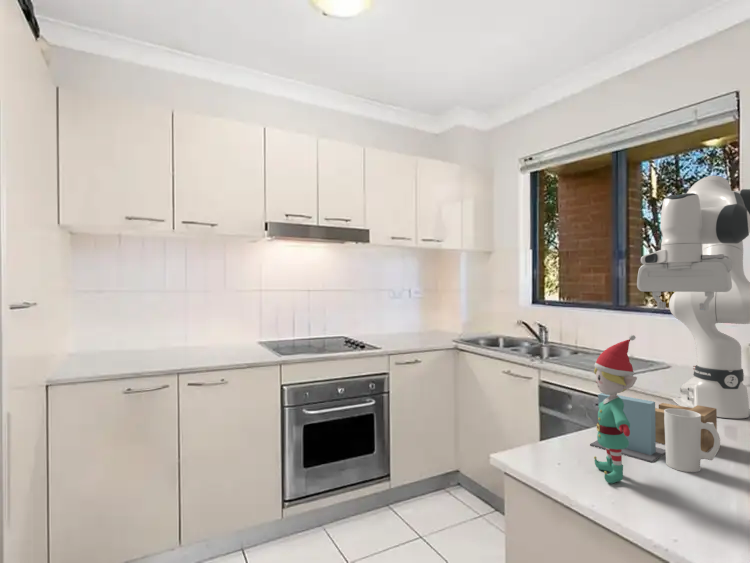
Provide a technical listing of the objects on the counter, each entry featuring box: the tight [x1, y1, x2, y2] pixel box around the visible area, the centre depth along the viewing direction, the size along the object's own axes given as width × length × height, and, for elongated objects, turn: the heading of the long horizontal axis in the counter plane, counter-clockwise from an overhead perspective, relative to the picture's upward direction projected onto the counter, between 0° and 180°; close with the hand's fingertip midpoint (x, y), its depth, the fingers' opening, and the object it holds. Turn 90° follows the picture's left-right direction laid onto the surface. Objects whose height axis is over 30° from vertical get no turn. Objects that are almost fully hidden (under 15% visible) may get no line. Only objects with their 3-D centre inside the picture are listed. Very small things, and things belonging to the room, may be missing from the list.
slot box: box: [655, 402, 718, 452], centre depth 113 cm, size 12×10×9 cm
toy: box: [593, 334, 638, 484], centre depth 94 cm, size 17×8×30 cm, turn 167°
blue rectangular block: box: [597, 392, 657, 455], centre depth 110 cm, size 12×3×12 cm, turn 39°
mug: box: [664, 409, 721, 473], centre depth 97 cm, size 10×7×12 cm, turn 45°
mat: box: [589, 440, 666, 463], centre depth 109 cm, size 14×10×1 cm
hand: (682, 309), depth 115 cm, fingers open, 8 cm apart
